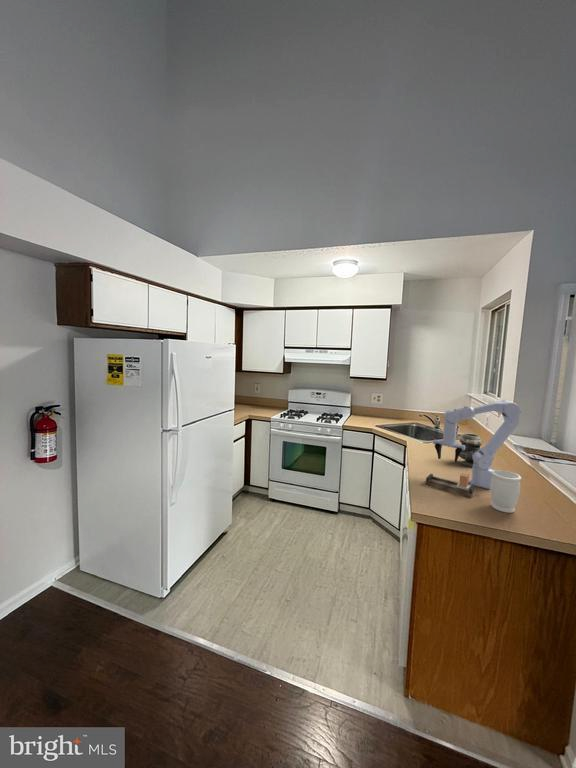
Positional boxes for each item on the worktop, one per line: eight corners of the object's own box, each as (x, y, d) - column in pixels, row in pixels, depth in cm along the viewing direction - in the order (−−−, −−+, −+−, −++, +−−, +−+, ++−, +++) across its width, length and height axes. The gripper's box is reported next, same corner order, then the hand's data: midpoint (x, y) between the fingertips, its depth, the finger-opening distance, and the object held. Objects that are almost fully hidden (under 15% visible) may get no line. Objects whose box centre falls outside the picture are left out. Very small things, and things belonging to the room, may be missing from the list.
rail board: (475, 491, 149) (475, 484, 149) (471, 498, 143) (471, 490, 142) (430, 479, 162) (431, 473, 162) (425, 485, 155) (425, 478, 155)
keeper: (470, 488, 149) (471, 474, 148) (468, 491, 145) (469, 478, 144) (458, 485, 152) (459, 472, 151) (456, 488, 148) (457, 475, 148)
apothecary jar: (481, 463, 189) (483, 434, 187) (480, 469, 178) (483, 438, 177) (458, 459, 195) (460, 431, 193) (456, 465, 185) (459, 435, 183)
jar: (518, 517, 127) (522, 481, 125) (488, 509, 132) (491, 475, 130) (516, 506, 136) (520, 472, 134) (488, 500, 141) (491, 467, 139)
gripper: (432, 433, 162) (430, 458, 163) (463, 438, 152) (461, 465, 154) (436, 430, 167) (434, 455, 169) (467, 436, 158) (464, 462, 159)
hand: (447, 460), depth 162 cm, fingers open, 7 cm apart
